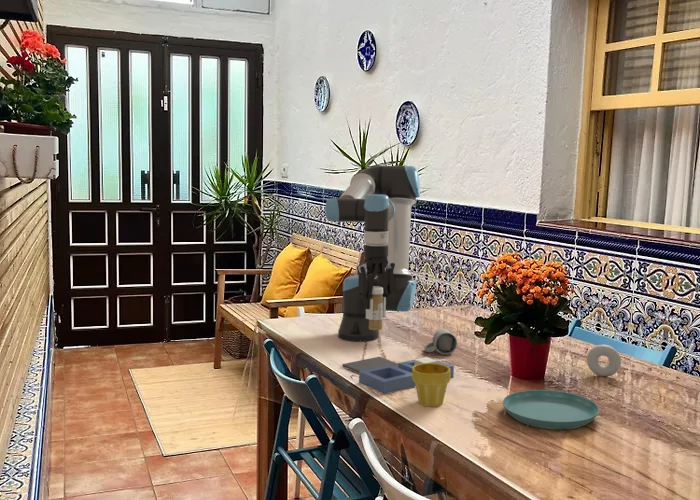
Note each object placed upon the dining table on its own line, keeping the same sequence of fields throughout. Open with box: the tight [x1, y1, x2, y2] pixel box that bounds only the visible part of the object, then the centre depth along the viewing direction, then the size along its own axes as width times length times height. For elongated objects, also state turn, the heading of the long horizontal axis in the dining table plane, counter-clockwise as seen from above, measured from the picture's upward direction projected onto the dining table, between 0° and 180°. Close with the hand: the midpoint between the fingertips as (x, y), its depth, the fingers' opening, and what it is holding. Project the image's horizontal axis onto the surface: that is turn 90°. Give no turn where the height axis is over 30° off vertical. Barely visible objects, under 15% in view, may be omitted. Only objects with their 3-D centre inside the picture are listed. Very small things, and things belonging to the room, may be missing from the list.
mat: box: [341, 356, 399, 374], centre depth 226 cm, size 15×15×1 cm
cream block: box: [413, 356, 438, 366], centre depth 218 cm, size 5×5×5 cm
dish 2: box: [397, 356, 455, 379], centre depth 218 cm, size 12×12×4 cm
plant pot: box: [412, 363, 451, 408], centre depth 194 cm, size 10×10×10 cm
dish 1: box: [358, 365, 416, 395], centre depth 209 cm, size 12×12×4 cm
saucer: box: [502, 389, 600, 430], centre depth 185 cm, size 24×24×3 cm
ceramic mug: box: [423, 329, 458, 356], centre depth 245 cm, size 11×8×8 cm
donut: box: [586, 344, 622, 377], centre depth 217 cm, size 10×4×10 cm, turn 65°
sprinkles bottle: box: [369, 286, 384, 331], centre depth 223 cm, size 5×5×14 cm
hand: (375, 317), depth 224 cm, fingers closed on sprinkles bottle, 4 cm apart
